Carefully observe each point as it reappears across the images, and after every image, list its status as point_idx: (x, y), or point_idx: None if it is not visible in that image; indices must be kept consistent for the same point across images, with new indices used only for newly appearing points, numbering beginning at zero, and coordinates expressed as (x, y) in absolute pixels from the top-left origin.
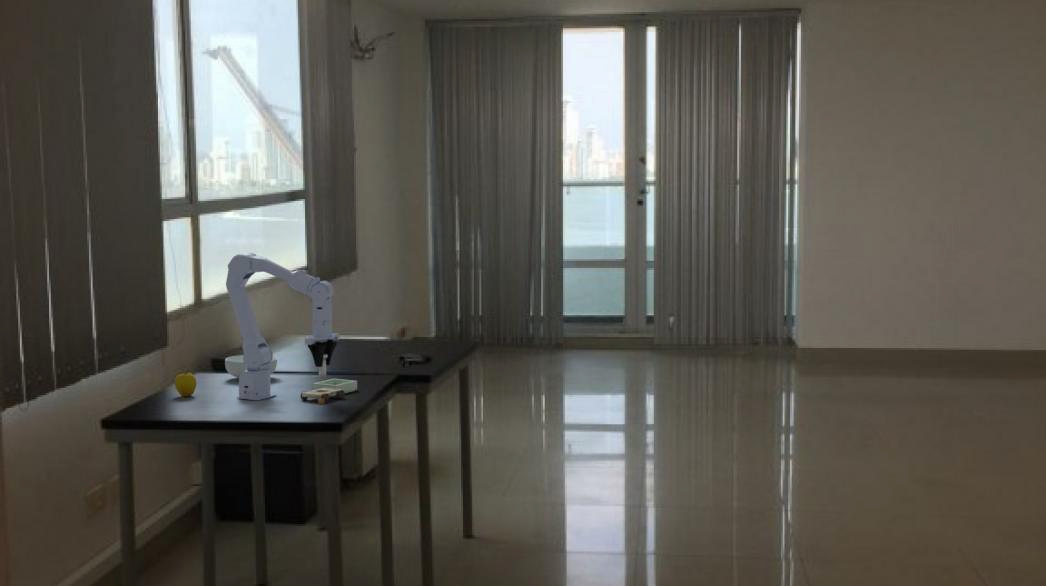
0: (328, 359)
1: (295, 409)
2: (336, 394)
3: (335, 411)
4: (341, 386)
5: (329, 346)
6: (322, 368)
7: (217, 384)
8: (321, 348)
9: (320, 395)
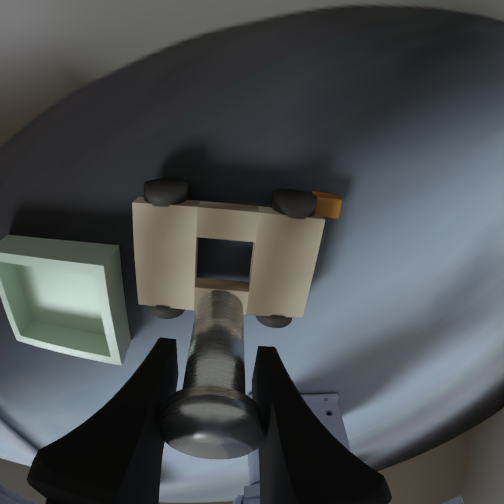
0: (166, 374)
1: (450, 229)
2: (190, 200)
3: (448, 72)
4: (71, 257)
5: (138, 479)
6: (240, 339)
7: (183, 485)
8: (367, 469)
9: (324, 220)
